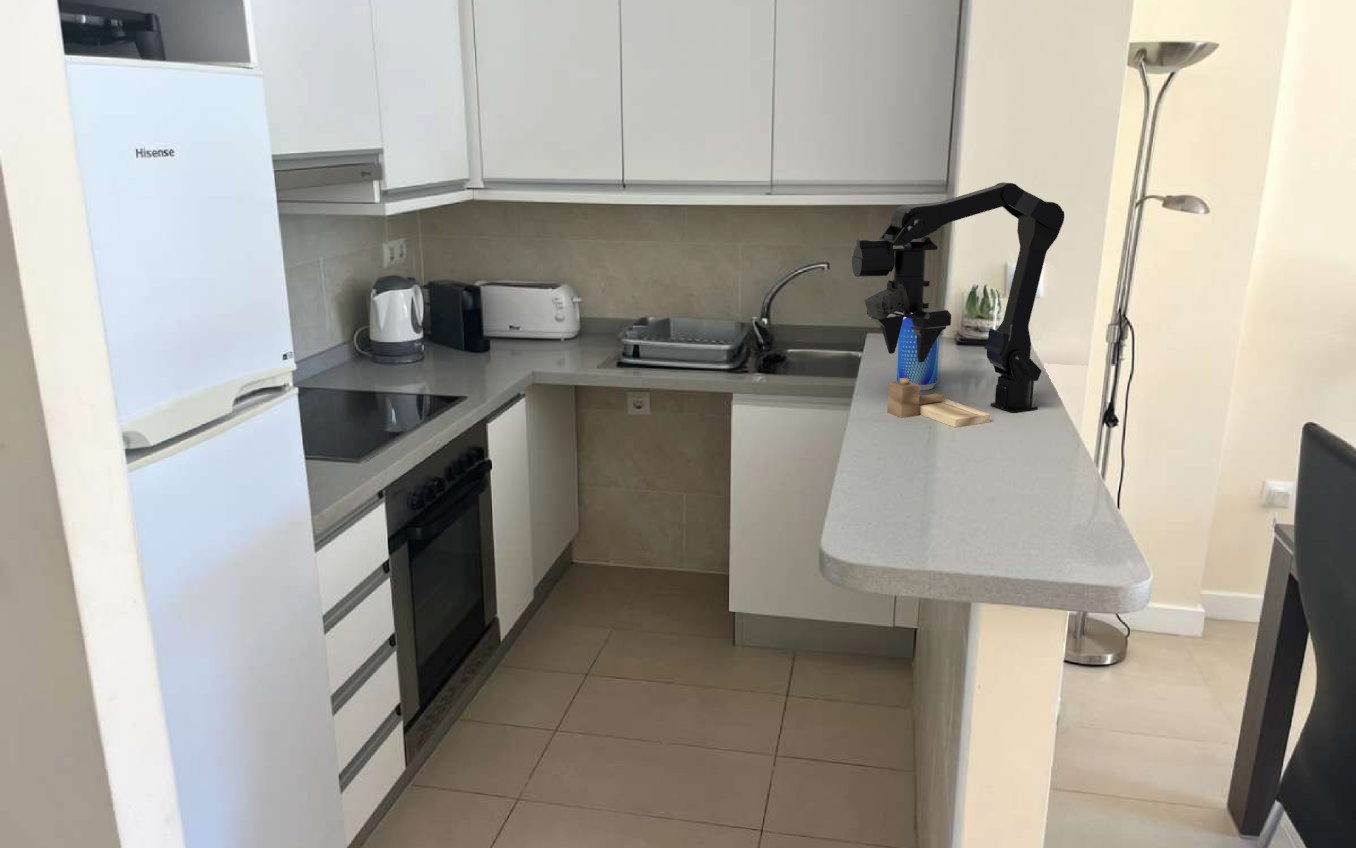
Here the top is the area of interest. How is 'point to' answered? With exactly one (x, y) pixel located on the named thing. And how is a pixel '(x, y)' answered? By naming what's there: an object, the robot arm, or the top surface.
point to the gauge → (908, 398)
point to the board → (953, 413)
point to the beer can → (916, 358)
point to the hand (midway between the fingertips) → (905, 357)
